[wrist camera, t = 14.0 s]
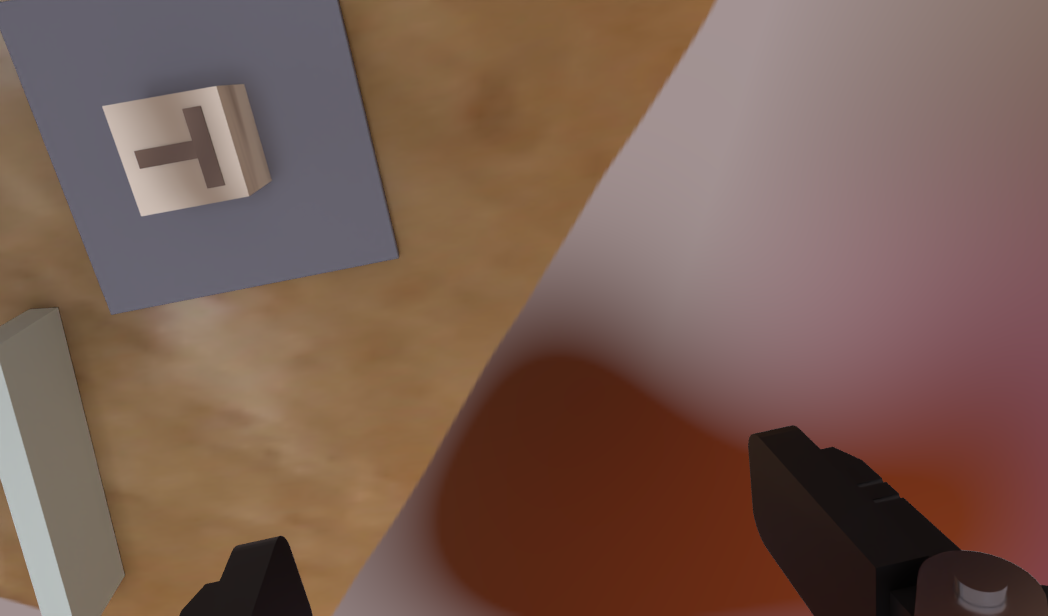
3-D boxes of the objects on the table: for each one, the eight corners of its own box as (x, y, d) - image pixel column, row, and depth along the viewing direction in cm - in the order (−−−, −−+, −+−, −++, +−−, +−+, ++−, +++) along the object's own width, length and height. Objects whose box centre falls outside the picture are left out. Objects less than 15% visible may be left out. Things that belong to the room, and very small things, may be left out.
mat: (117, 310, 40) (111, 314, 39) (-1, 5, 35) (-10, 3, 34) (399, 254, 41) (398, 258, 40) (326, -51, 36) (324, -53, 35)
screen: (100, 578, 45) (52, 650, 39) (29, 309, 39) (-39, 349, 34) (125, 575, 45) (81, 647, 40) (57, 307, 39) (-5, 346, 34)
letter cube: (177, 198, 38) (140, 216, 33) (145, 101, 36) (101, 106, 31) (271, 180, 38) (248, 196, 33) (244, 84, 36) (215, 86, 32)
